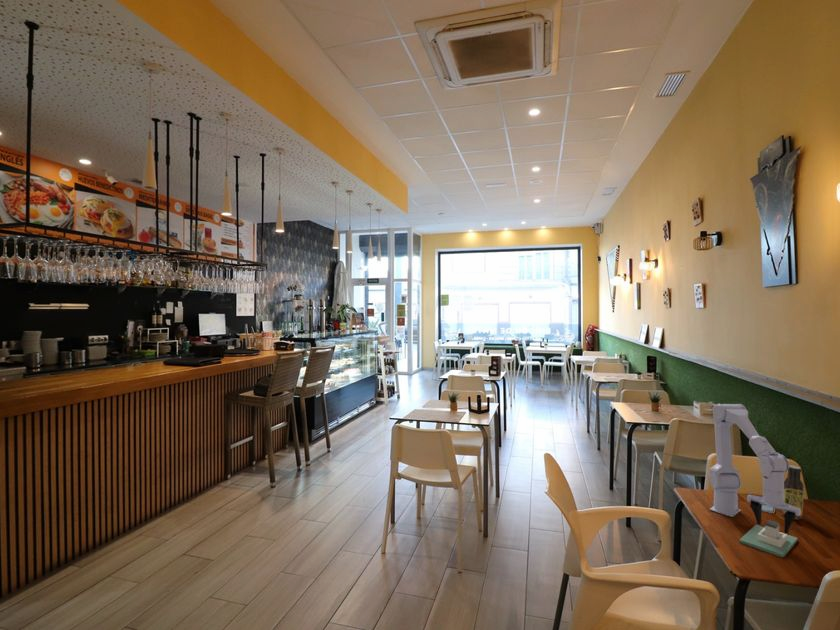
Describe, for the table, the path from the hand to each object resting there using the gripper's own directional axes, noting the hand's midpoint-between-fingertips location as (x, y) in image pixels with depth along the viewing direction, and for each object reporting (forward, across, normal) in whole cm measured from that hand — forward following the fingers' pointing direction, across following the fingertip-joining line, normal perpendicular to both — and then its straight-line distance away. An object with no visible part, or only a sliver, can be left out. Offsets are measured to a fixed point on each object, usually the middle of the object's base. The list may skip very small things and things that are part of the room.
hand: (772, 528), depth 152 cm
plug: (+4, 0, -1) cm, 4 cm away
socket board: (+5, -1, 0) cm, 5 cm away
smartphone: (+6, -11, +34) cm, 37 cm away
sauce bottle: (+5, -1, +30) cm, 31 cm away
